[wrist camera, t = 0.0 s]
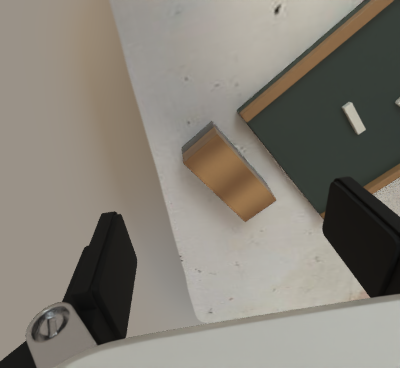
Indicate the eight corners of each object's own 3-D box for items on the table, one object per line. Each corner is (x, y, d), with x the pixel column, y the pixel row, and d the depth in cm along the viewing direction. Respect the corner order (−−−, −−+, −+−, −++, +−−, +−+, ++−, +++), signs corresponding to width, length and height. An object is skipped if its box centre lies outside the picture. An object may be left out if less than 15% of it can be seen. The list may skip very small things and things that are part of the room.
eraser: (181, 147, 32) (183, 163, 28) (211, 120, 31) (217, 133, 27) (237, 202, 37) (245, 222, 34) (265, 182, 36) (276, 200, 32)
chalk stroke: (341, 107, 30) (344, 108, 30) (348, 101, 30) (352, 102, 29) (355, 133, 32) (358, 134, 32) (363, 128, 32) (366, 129, 31)
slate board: (236, 110, 30) (240, 115, 28) (440, -66, 24) (463, -74, 22) (319, 214, 40) (326, 223, 38) (480, 110, 33) (499, 114, 31)
